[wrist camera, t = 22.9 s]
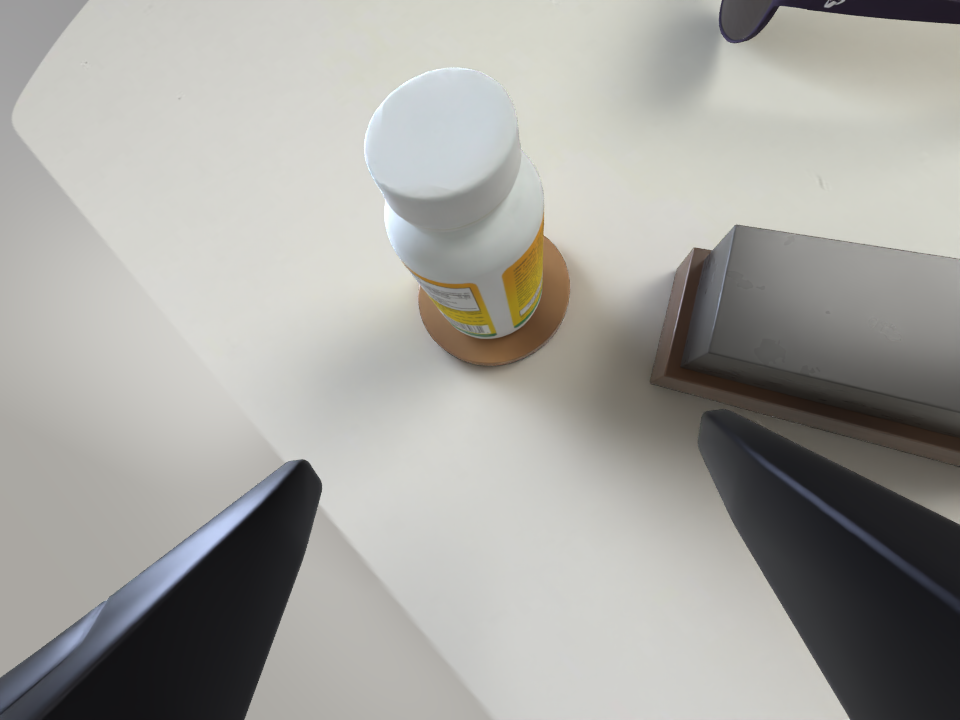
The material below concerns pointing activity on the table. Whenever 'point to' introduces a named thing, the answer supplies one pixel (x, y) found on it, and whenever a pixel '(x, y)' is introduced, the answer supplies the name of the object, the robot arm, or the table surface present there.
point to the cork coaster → (520, 340)
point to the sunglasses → (755, 4)
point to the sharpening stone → (821, 337)
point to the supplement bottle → (461, 198)
